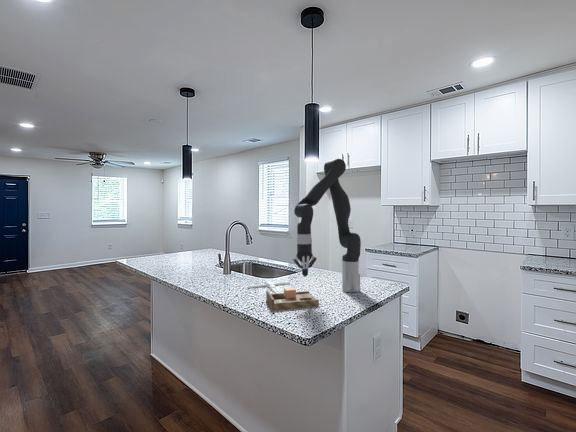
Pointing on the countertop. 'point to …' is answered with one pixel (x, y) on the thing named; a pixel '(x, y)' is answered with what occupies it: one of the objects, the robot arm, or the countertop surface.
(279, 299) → the brown wooden compartment frame
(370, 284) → the countertop surface
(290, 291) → the block
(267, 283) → the articulated figure
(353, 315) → the countertop surface
